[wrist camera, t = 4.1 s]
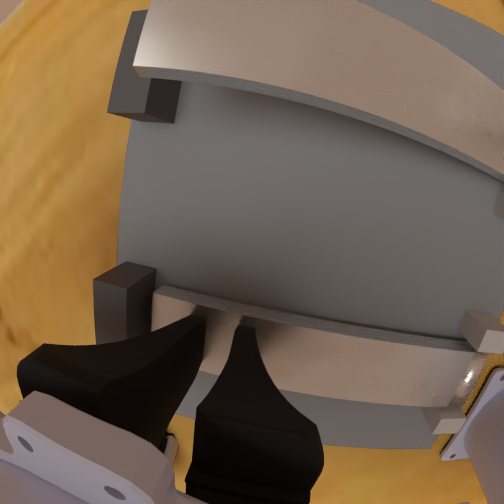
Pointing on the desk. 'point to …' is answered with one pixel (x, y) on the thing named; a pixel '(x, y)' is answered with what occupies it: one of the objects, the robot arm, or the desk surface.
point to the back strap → (331, 353)
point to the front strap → (331, 67)
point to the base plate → (308, 222)
